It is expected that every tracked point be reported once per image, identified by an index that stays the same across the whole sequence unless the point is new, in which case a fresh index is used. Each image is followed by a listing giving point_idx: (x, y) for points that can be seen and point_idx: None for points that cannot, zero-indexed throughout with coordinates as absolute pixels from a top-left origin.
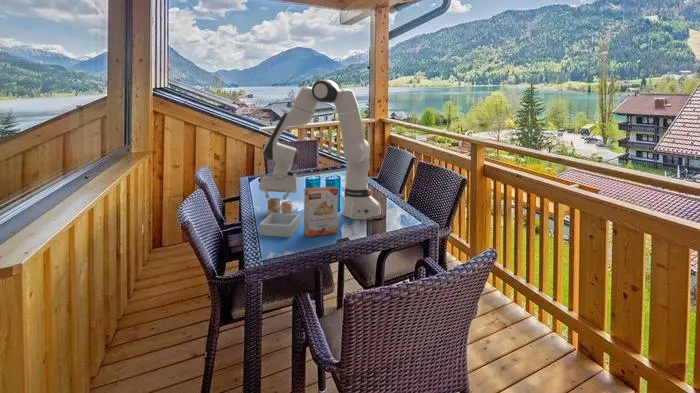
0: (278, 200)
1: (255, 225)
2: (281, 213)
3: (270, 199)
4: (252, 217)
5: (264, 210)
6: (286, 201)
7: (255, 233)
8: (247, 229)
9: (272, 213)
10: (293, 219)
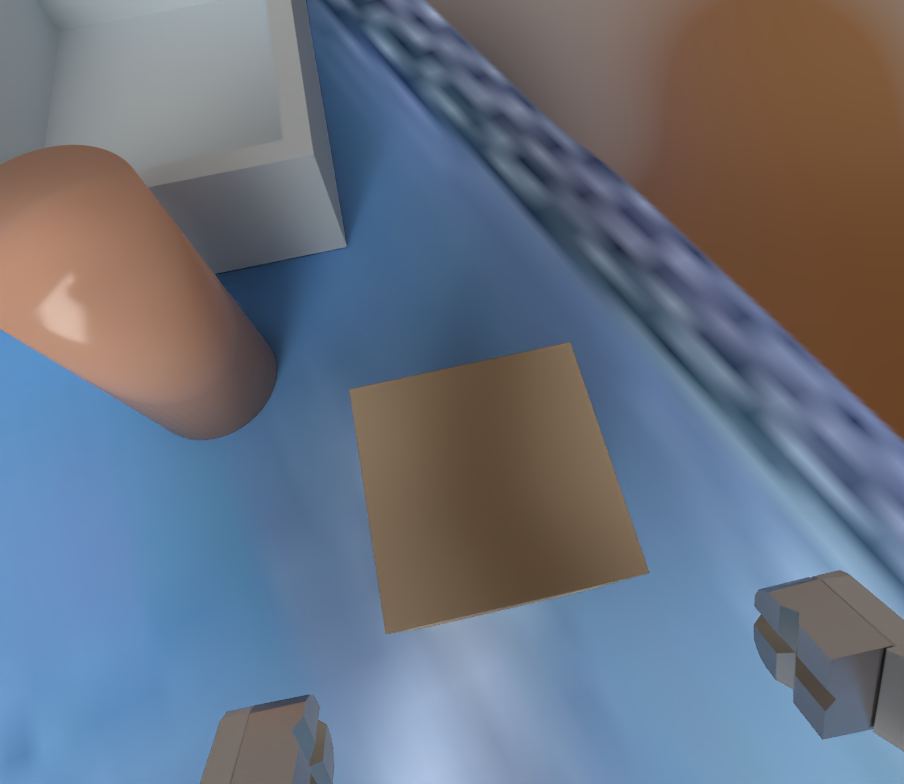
0: (367, 493)
1: (458, 128)
2: (172, 172)
3: (561, 442)
4: (662, 306)
5: (762, 679)
6: (61, 283)
7: (350, 7)
8: (462, 40)
9: (287, 131)
10: None
